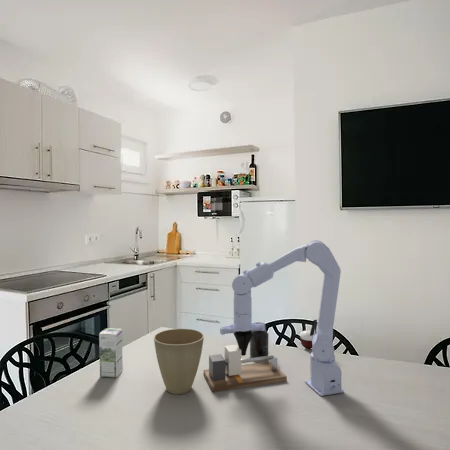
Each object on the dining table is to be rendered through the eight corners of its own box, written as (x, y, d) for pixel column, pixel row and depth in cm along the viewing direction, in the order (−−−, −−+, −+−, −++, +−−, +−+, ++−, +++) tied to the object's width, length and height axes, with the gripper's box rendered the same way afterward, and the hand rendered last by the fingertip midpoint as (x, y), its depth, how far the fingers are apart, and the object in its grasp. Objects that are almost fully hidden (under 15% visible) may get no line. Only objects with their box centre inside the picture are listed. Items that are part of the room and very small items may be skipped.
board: (286, 381, 112) (286, 376, 112) (212, 391, 105) (212, 386, 105) (271, 365, 124) (271, 361, 124) (203, 374, 117) (203, 369, 117)
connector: (225, 379, 110) (225, 360, 110) (212, 381, 109) (212, 361, 109) (221, 372, 115) (221, 354, 115) (209, 374, 114) (208, 355, 114)
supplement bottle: (269, 360, 128) (269, 327, 128) (250, 360, 129) (250, 327, 128) (267, 352, 135) (267, 321, 135) (249, 352, 135) (249, 321, 135)
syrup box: (123, 370, 120) (122, 327, 120) (116, 378, 114) (115, 333, 114) (107, 369, 121) (106, 327, 120) (99, 377, 115) (98, 333, 115)
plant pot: (196, 403, 99) (196, 346, 99) (146, 398, 102) (145, 342, 102) (209, 379, 114) (209, 329, 113) (165, 375, 117) (164, 326, 116)
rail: (277, 370, 117) (277, 355, 116) (217, 378, 111) (217, 363, 111) (274, 367, 118) (274, 353, 118) (216, 375, 113) (216, 360, 113)
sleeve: (241, 374, 112) (241, 350, 111) (229, 375, 110) (229, 351, 110) (236, 367, 116) (236, 344, 116) (224, 369, 115) (224, 346, 115)
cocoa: (299, 344, 145) (297, 314, 146) (314, 343, 145) (313, 314, 145) (303, 351, 136) (301, 320, 136) (319, 351, 136) (318, 319, 136)
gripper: (259, 307, 120) (259, 347, 120) (217, 310, 116) (217, 352, 116) (267, 312, 113) (267, 355, 113) (223, 316, 109) (223, 360, 109)
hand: (242, 354), depth 114 cm, fingers closed
